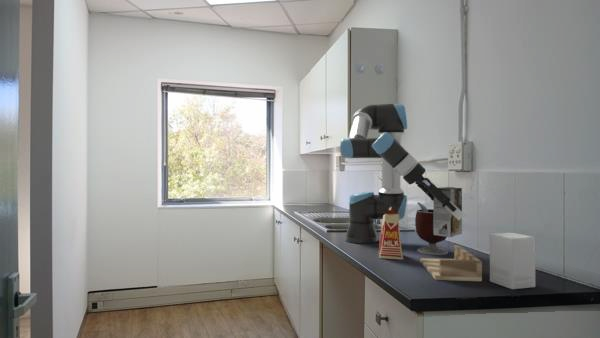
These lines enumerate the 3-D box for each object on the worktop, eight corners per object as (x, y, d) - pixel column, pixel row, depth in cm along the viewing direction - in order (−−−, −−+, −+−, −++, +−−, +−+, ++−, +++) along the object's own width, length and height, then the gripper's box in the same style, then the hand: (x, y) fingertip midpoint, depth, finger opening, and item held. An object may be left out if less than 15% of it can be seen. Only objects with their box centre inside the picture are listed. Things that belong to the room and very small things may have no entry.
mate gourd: (457, 253, 157) (457, 204, 157) (432, 256, 151) (432, 206, 151) (429, 246, 171) (429, 201, 171) (405, 249, 165) (405, 202, 165)
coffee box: (444, 231, 137) (444, 186, 137) (462, 234, 132) (462, 187, 132) (432, 235, 130) (432, 187, 130) (450, 237, 126) (451, 188, 126)
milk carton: (403, 259, 147) (403, 207, 147) (378, 258, 149) (379, 206, 148) (401, 254, 156) (402, 205, 156) (378, 253, 158) (378, 204, 157)
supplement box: (536, 287, 113) (537, 236, 113) (512, 290, 110) (512, 238, 110) (511, 278, 121) (511, 231, 121) (488, 281, 119) (488, 233, 119)
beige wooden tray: (420, 261, 144) (420, 244, 144) (458, 262, 143) (458, 245, 143) (435, 279, 120) (435, 260, 120) (482, 281, 119) (482, 261, 119)
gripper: (397, 176, 144) (440, 218, 143) (407, 178, 121) (458, 228, 120) (411, 162, 144) (454, 204, 142) (424, 161, 121) (476, 211, 119)
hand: (456, 215), depth 131 cm, fingers closed on coffee box, 10 cm apart
